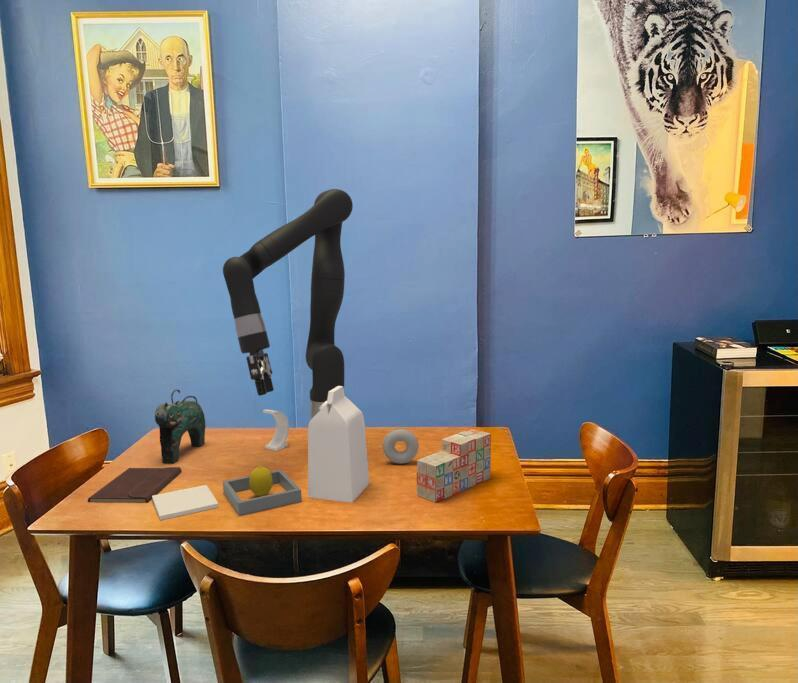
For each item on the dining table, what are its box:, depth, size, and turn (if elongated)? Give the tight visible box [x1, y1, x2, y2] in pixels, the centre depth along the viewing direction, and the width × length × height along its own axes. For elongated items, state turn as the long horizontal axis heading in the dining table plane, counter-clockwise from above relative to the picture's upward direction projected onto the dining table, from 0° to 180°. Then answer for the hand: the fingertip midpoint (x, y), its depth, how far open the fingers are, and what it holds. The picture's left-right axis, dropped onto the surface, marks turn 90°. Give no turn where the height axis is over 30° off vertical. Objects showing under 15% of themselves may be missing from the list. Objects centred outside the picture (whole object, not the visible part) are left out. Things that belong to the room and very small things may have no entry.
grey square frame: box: [222, 469, 303, 517], centre depth 149 cm, size 15×15×3 cm
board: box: [151, 484, 220, 521], centre depth 146 cm, size 13×13×1 cm
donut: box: [382, 428, 419, 465], centre depth 169 cm, size 10×4×10 cm, turn 88°
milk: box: [307, 386, 370, 503], centre depth 151 cm, size 12×12×26 cm
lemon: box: [249, 465, 274, 497], centre depth 149 cm, size 6×6×8 cm
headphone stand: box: [262, 409, 290, 452], centre depth 185 cm, size 5×6×12 cm
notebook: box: [87, 466, 183, 504], centre depth 157 cm, size 15×20×2 cm
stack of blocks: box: [416, 428, 492, 503], centre depth 153 cm, size 21×6×12 cm, turn 134°
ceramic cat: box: [154, 389, 206, 465], centre depth 180 cm, size 20×6×20 cm, turn 166°
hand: (266, 393), depth 160 cm, fingers open, 8 cm apart
